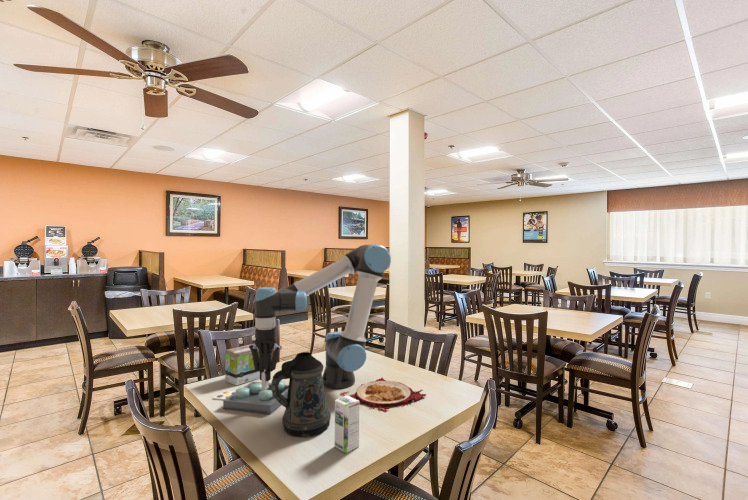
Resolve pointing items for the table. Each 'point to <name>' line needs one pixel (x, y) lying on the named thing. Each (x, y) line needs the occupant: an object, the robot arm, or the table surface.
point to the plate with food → (385, 394)
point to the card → (224, 395)
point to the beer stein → (303, 396)
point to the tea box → (240, 366)
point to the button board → (254, 402)
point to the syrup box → (346, 424)
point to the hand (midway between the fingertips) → (265, 388)
